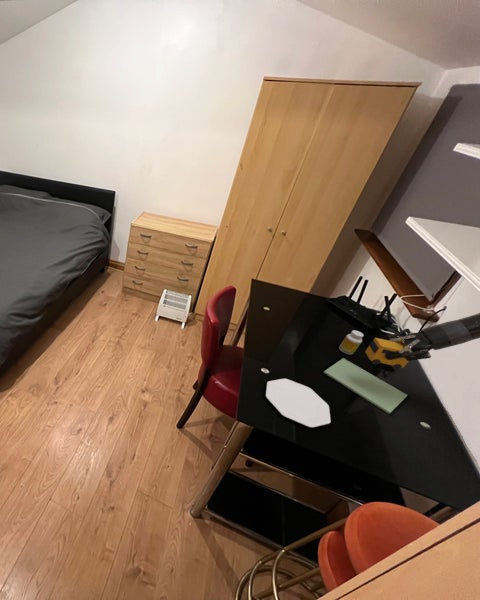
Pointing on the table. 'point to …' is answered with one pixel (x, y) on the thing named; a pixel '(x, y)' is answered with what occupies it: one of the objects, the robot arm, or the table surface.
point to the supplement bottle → (351, 342)
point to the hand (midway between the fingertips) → (382, 352)
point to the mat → (366, 385)
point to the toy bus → (385, 352)
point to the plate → (298, 402)
